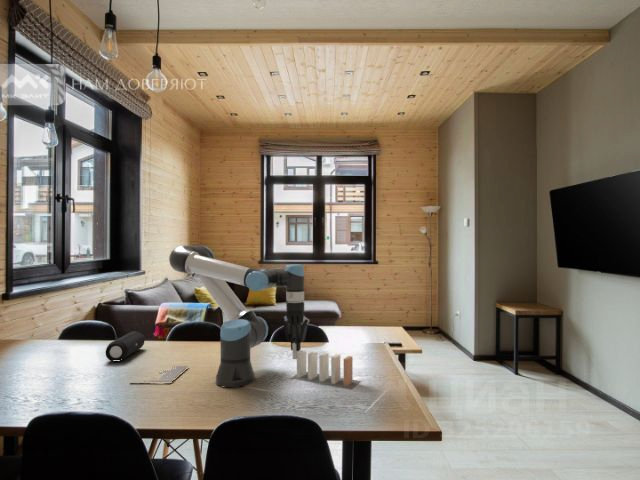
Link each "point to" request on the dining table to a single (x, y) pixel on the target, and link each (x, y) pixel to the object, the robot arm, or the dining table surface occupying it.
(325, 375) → the domino
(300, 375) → the domino
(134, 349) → the portable speaker
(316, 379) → the mat
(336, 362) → the domino
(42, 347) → the dining table surface
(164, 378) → the play button award
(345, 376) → the end domino
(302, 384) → the dining table surface
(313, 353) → the domino
